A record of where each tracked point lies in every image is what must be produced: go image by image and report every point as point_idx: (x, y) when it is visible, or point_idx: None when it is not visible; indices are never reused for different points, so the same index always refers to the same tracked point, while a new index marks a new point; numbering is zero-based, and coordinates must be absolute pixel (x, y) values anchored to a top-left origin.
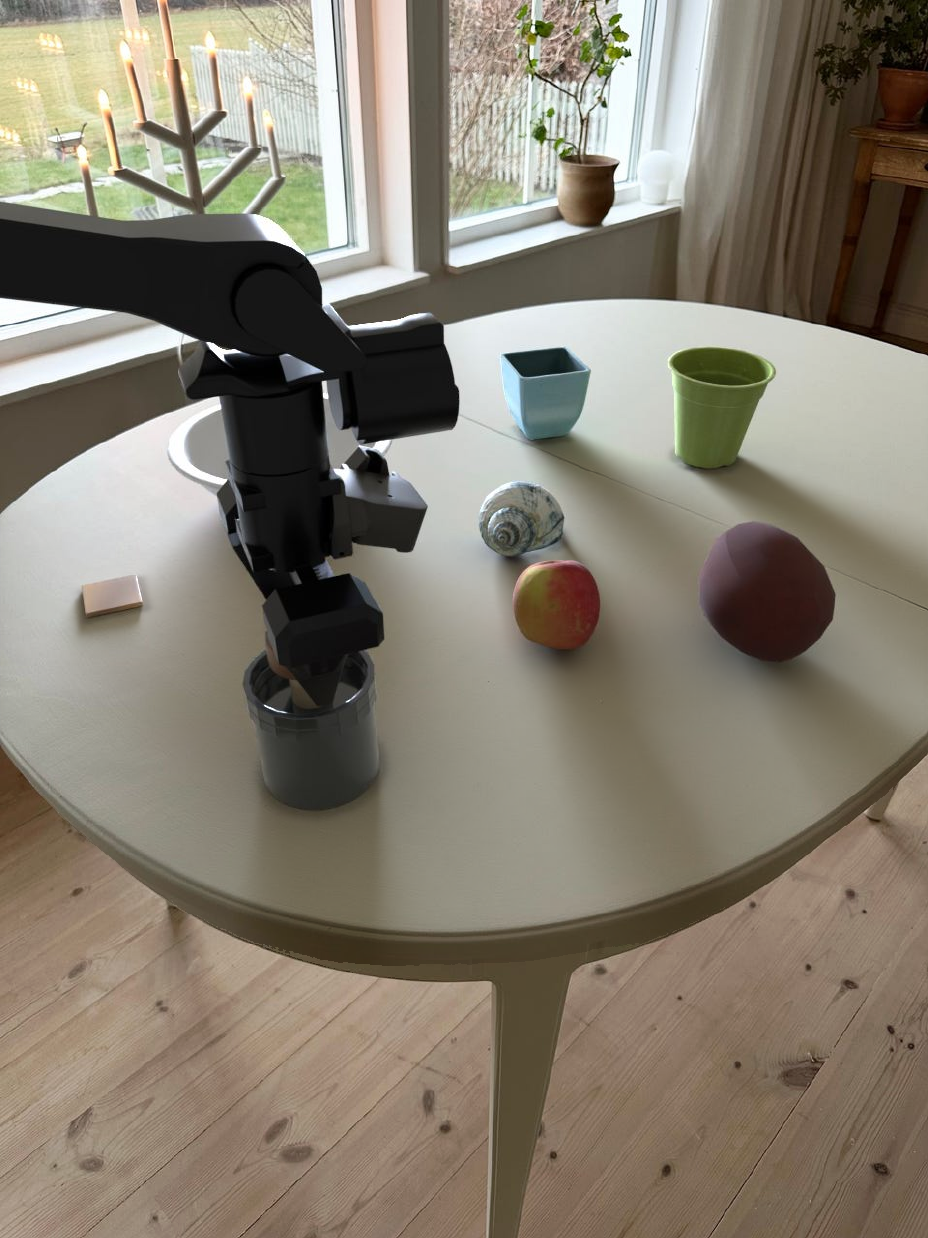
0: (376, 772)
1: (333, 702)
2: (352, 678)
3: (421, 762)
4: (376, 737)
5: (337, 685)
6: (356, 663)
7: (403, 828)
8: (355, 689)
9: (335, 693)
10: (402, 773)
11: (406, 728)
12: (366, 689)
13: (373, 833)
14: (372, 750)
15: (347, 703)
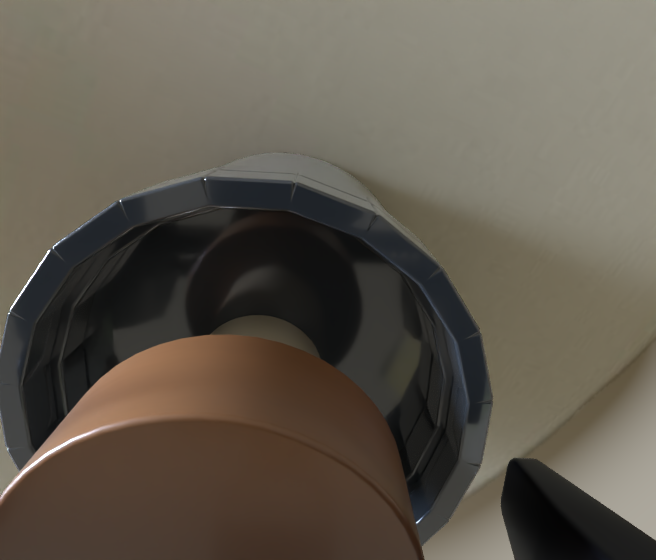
0: (357, 180)
1: (315, 324)
2: (225, 231)
3: (365, 65)
4: (339, 176)
5: (638, 530)
6: (193, 214)
7: (518, 183)
8: (284, 240)
9: (579, 488)
10: (377, 123)
11: (240, 51)
12: (432, 269)
13: (497, 242)
14: (375, 201)
15: (468, 357)
